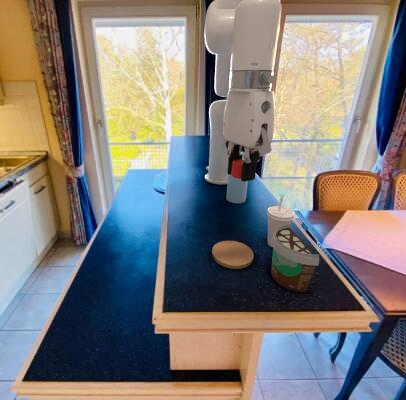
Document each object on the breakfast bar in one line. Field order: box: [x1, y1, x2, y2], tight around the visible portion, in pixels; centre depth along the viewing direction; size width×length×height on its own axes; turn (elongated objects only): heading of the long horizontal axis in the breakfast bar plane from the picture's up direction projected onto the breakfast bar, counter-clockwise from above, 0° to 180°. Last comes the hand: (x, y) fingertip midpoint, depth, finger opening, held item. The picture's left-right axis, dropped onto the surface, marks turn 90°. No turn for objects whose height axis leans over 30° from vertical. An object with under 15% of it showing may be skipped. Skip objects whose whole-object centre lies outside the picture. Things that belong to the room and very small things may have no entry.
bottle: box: [225, 151, 249, 204], centre depth 91 cm, size 7×7×17 cm
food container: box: [270, 224, 320, 293], centre depth 56 cm, size 12×6×10 cm, turn 4°
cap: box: [231, 159, 245, 179], centre depth 55 cm, size 4×4×3 cm
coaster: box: [211, 240, 255, 270], centre depth 65 cm, size 10×10×1 cm
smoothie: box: [266, 194, 295, 248], centre depth 66 cm, size 6×6×14 cm
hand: (240, 175), depth 56 cm, fingers closed on cap, 3 cm apart
